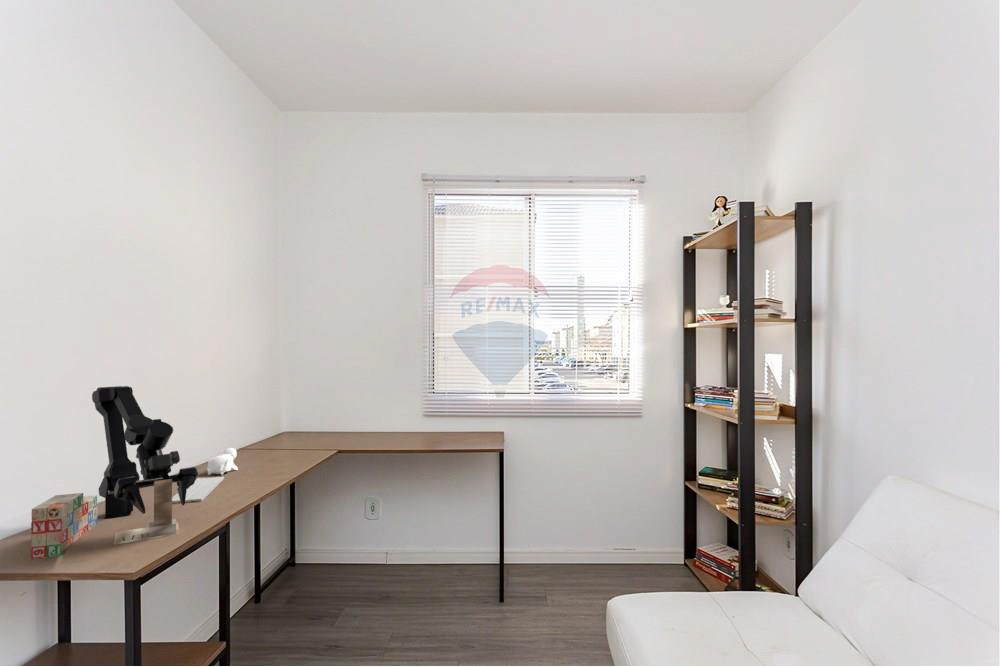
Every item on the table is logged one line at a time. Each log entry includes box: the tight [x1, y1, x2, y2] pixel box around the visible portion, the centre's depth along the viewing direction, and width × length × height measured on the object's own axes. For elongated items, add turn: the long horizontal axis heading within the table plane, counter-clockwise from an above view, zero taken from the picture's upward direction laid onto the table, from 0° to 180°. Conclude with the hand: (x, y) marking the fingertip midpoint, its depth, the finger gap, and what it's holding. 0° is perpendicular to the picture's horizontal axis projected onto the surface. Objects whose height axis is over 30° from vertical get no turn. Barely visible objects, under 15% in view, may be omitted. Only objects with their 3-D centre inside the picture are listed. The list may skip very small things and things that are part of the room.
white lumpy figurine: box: [206, 447, 239, 476], centre depth 218 cm, size 9×8×15 cm
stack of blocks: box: [30, 492, 98, 560], centre depth 140 cm, size 21×6×12 cm, turn 18°
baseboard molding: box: [172, 473, 225, 504], centre depth 189 cm, size 31×3×12 cm
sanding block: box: [148, 479, 177, 538], centre depth 143 cm, size 6×5×14 cm
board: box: [113, 521, 180, 546], centre depth 143 cm, size 14×11×1 cm
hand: (164, 508), depth 142 cm, fingers open, 9 cm apart
